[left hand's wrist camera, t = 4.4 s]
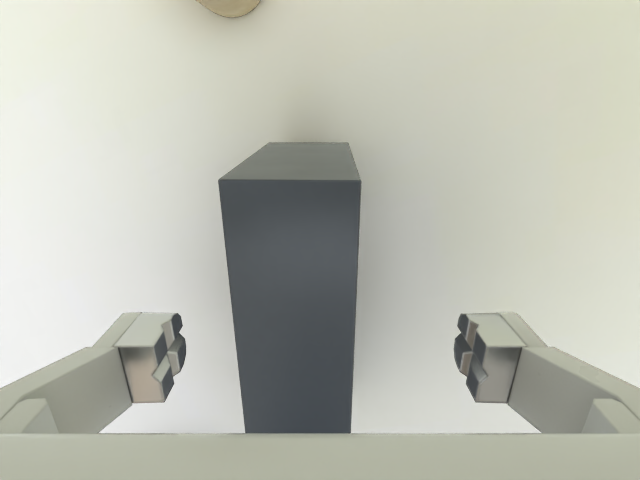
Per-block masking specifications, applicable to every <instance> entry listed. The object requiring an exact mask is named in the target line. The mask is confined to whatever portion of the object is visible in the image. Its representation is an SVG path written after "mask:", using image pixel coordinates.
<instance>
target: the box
mask: <svg viewBox="0 0 640 480" xmlns="http://www.w3.org/2000/svg"><path fill="white" fill-rule="evenodd" d="M218 182H219V192H220V201H221V210H222V220H223V229H224V238H225V247H226V257H227V266H228V275H229V285H230V294H231V303H232V312H233V322H234V331H235V340H236V350H237V359H238V368H239V377H240V387H241V396H242V405H243V414H244V424H245V433H351V413H352V389H353V365H354V342H355V318H356V294H357V271H358V247H359V223H360V199H361V180H360V177H359V174H358V171H357V168H356V165H355V162H354V159H353V156H352V153H351V150H350V147H349V144H348V143H268V144H267V145H265V146H264V147H262V148H261V149H260V150H258V151H257V152H256V153H254V154H253V155H252V156H250V157H249V158H247V159H246V160H245V161H243V162H242V163H241V164H239V165H238V166H237V167H235V168H234V169H233V170H231V171H230V172H228V173H227V174H226V175H224V176H223V177H222V178H220V179H219V180H218Z"/></svg>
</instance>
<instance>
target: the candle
mask: <svg viewBox="0 0 640 480" xmlns="http://www.w3.org/2000/svg"><path fill="white" fill-rule="evenodd" d="M196 1H198V2H199V3H200V4H202V5H203V6H205V7H206V8H208V9H209V10H211V11H212V12H214V13H216V14H218V15H221V16H225V17H239V16H242V15H245V14H247V13H249V12H250V11H251V10H253V9H254V8H255V7H256V6H257V4H258V3H259V2H260V0H196Z"/></svg>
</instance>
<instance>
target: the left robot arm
mask: <svg viewBox="0 0 640 480" xmlns="http://www.w3.org/2000/svg"><path fill="white" fill-rule="evenodd" d="M182 326H183V325H182V320H181V316H180V315H179V314H178V313H142V312H128V313H123V314H122V315H121V316H120V317H119V318H118V319H117V320H116V321H115V323H114V324H113V325H112V326H111V327H110V328H109V329H108V330H107V331H106V332H105V333H104V335H103V336H102V337H101V338H100V339H99V340H98V341H97V342H96V343H95V344H94V345H93V346H92V347H85V348H83V349H81V350H79V351H77V352H75V353H73V354H71V355H69V356H67V357H65V358H62V359H60V360H58V361H56V362H54V363H52V364H50V365H48V366H46V367H44V368H42V369H40V370H38V371H35V372H33V373H31V374H29V375H27V376H25V377H23V378H21V379H19V380H17V381H15V382H13V383H10V384H8V385H6V386H4V387H2V388H0V480H640V388H638V387H636V386H633V385H631V384H629V383H627V382H625V381H623V380H621V379H619V378H617V377H615V376H613V375H611V374H609V373H606V372H604V371H602V370H600V369H598V368H596V367H594V366H592V365H590V364H588V363H586V362H584V361H582V360H579V359H577V358H575V357H573V356H571V355H569V354H567V353H565V352H563V351H561V350H559V349H557V348H555V347H547V345H546V344H545V343H544V342H543V341H542V340H541V339H540V338H539V337H538V336H537V335H536V333H535V332H534V331H533V330H532V329H531V328H530V327H529V326H528V325H527V324H526V323H525V321H524V320H523V319H522V318H521V317H520V316H519V315H518V314H516V313H514V312H504V313H473V314H461V315H460V317H459V320H458V325H457V326H458V328H459V330H460V331H461V333H460V334H459V335H458V336H457V337H456V338H455V344H454V356H455V361H456V364H457V367H458V369H459V371H460V372H461V373H462V374H464V375H465V376H467V381H466V385H467V387H468V389H469V391H470V392H471V394H472V396H473V398H474V400H475V402H481V403H508V405H509V406H510V407H511V408H512V409H513V410H515V411H516V412H517V413H518V414H520V415H521V416H522V417H523V418H524V419H526V420H527V421H528V422H529V423H531V424H532V425H533V426H534V427H535V428H537V429H538V430H539V431H540V432H541V433H99V432H100V431H101V430H102V429H103V428H105V427H106V426H107V425H108V424H110V423H111V422H112V421H113V420H114V419H116V418H117V417H118V416H119V415H121V414H122V413H123V412H124V411H125V410H127V409H128V408H129V407H130V406H132V403H158V402H165V400H166V398H167V396H168V394H169V392H170V391H171V389H172V387H173V385H174V381H173V376H175V375H176V374H178V373H179V372H180V371H181V369H182V367H183V365H184V361H185V356H186V343H185V338H184V337H183V336H182V335H181V334H180V333H179V331H180V330H181V328H182Z"/></svg>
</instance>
